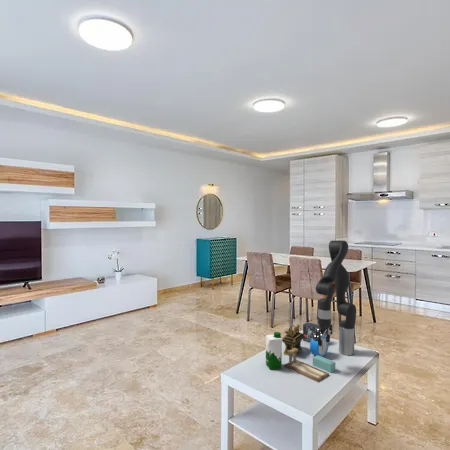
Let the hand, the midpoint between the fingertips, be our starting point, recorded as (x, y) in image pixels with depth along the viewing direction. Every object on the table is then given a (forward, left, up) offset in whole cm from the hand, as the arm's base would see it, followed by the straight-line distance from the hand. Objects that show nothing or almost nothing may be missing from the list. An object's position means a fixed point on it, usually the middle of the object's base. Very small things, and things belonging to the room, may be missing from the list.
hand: (323, 343), depth 187 cm
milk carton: (+22, -20, -15) cm, 33 cm away
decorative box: (-2, -25, -15) cm, 29 cm away
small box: (-29, -27, -15) cm, 42 cm away
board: (+11, -4, -14) cm, 19 cm away
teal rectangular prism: (0, 0, -15) cm, 15 cm away
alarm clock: (-12, -11, -15) cm, 22 cm away
